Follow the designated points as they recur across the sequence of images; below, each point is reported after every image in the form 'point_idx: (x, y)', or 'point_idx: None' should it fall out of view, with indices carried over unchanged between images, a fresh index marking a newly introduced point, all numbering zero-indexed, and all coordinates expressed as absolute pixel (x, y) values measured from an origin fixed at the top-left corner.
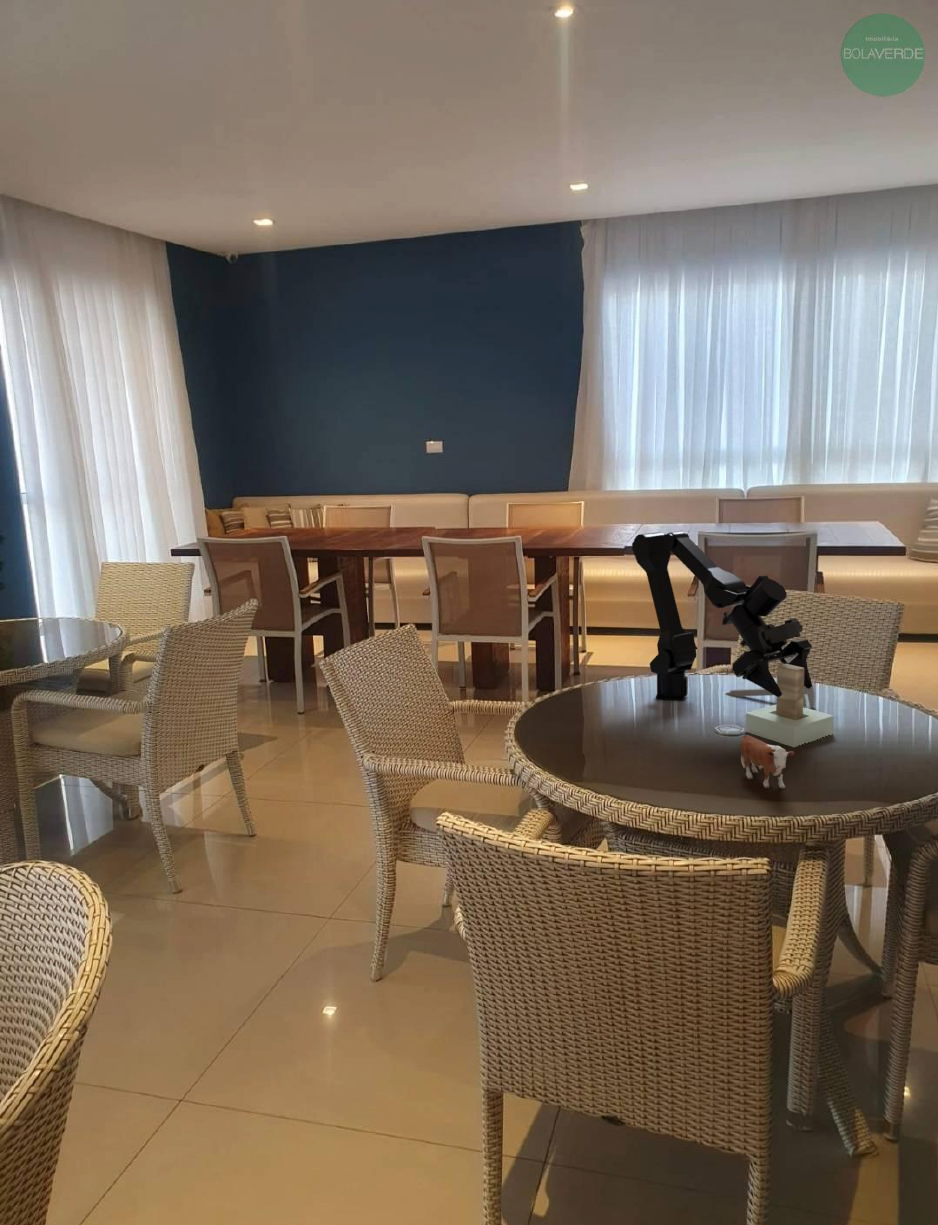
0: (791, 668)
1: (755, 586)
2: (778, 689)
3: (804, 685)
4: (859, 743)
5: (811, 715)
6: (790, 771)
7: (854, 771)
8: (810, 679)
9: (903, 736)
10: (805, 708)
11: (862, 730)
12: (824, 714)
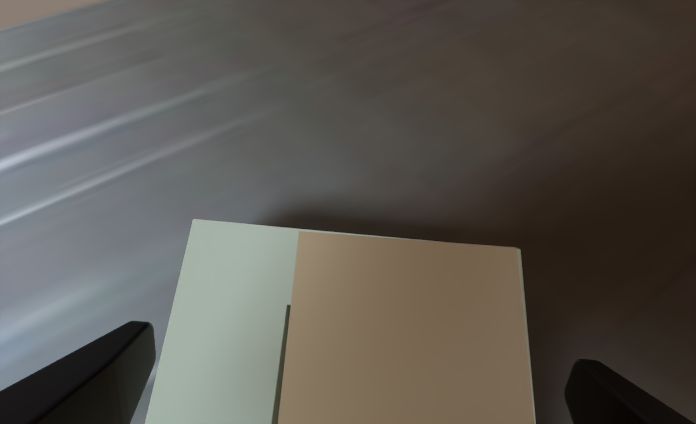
0: (501, 372)
1: None
2: (633, 390)
3: (133, 409)
4: (249, 136)
5: (272, 303)
6: (670, 155)
7: (498, 41)
8: (78, 350)
9: (67, 72)
10: (160, 415)
11: (81, 198)
12: (205, 263)
